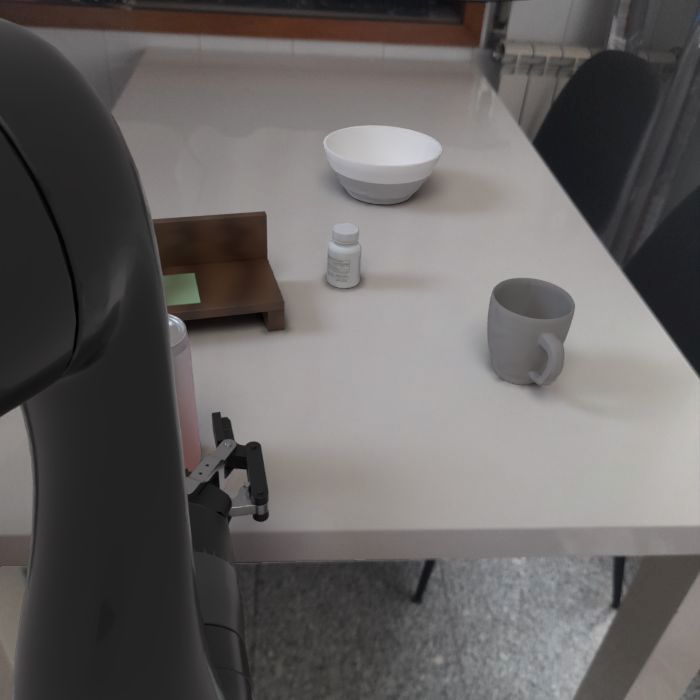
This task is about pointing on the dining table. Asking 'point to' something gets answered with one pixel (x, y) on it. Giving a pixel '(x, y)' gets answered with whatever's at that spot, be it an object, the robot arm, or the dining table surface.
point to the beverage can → (185, 392)
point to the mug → (528, 330)
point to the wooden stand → (218, 267)
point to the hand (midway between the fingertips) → (162, 427)
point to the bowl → (381, 161)
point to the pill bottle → (344, 256)
